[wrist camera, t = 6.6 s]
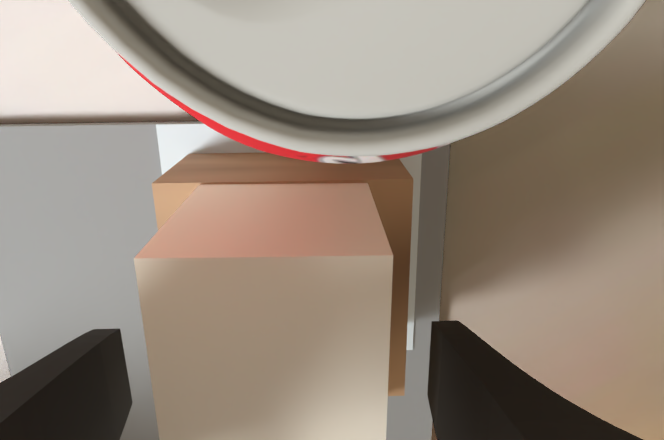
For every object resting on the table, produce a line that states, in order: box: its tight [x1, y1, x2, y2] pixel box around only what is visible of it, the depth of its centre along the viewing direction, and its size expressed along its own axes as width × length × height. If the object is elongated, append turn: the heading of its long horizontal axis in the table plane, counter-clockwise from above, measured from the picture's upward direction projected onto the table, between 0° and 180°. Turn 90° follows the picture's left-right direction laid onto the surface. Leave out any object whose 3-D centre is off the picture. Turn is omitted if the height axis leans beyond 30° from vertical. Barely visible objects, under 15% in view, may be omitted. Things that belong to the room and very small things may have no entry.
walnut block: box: [152, 152, 413, 396], centre depth 16 cm, size 7×7×4 cm
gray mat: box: [0, 121, 451, 440], centre depth 20 cm, size 18×17×1 cm
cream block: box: [134, 183, 393, 440], centre depth 12 cm, size 7×4×5 cm, turn 0°
